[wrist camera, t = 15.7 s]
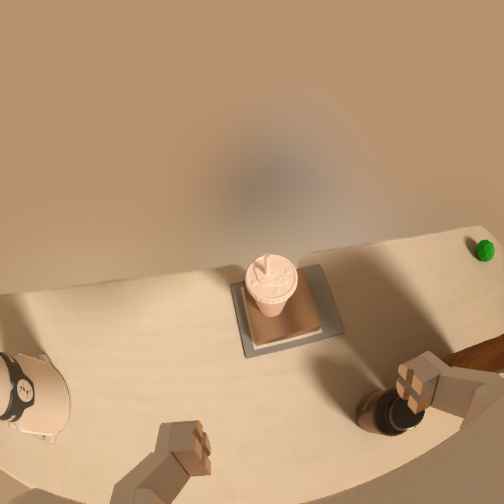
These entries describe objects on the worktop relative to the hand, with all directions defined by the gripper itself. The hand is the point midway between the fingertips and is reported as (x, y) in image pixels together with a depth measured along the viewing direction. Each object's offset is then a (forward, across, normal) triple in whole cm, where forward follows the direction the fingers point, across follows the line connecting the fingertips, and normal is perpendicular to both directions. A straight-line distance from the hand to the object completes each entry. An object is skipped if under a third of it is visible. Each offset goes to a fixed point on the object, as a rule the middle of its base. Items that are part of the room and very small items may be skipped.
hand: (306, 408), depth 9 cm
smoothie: (+31, -2, +9) cm, 32 cm away
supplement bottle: (+18, -14, +26) cm, 35 cm away
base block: (+33, -4, +11) cm, 35 cm away
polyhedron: (+32, -53, +13) cm, 63 cm away
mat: (+33, -5, +11) cm, 35 cm away
